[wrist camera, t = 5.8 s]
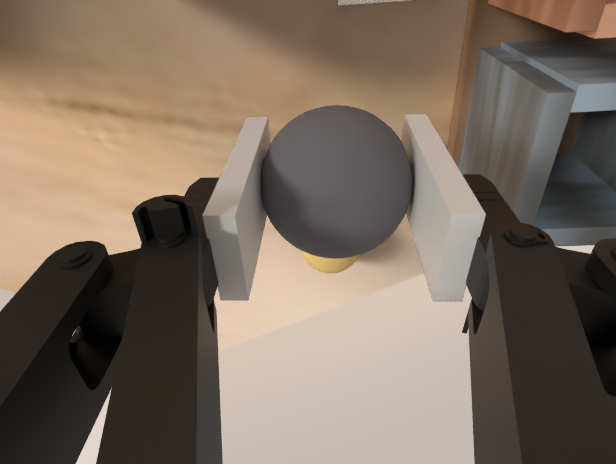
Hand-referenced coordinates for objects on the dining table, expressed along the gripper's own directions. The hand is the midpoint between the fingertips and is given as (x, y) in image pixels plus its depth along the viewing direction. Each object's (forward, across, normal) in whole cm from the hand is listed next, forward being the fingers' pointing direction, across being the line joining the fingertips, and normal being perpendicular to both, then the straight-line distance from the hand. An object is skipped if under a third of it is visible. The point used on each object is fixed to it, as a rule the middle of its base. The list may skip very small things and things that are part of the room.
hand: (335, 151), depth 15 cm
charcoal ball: (-2, 0, 0) cm, 2 cm away
